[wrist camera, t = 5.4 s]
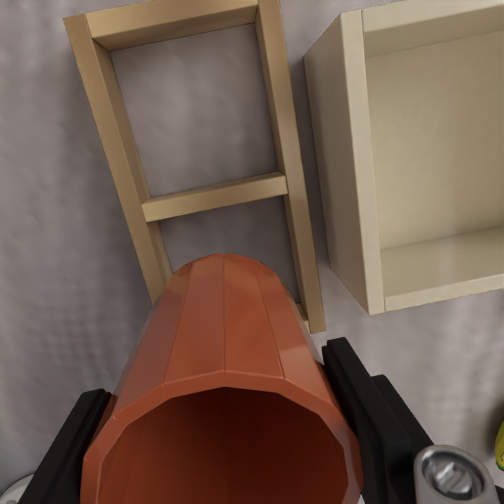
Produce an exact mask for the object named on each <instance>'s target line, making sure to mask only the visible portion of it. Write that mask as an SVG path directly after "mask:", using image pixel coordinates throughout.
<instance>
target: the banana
mask: <svg viewBox="0 0 504 504" xmlns="http://www.w3.org/2000/svg"><path fill="white" fill-rule="evenodd" d="M495 456H496V464H497V466H498V468H499V469H501V470H502V471H504V420H503V421H502V423H501V426H500V429H499V432H498V434H497V437H496V440H495Z"/></svg>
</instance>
